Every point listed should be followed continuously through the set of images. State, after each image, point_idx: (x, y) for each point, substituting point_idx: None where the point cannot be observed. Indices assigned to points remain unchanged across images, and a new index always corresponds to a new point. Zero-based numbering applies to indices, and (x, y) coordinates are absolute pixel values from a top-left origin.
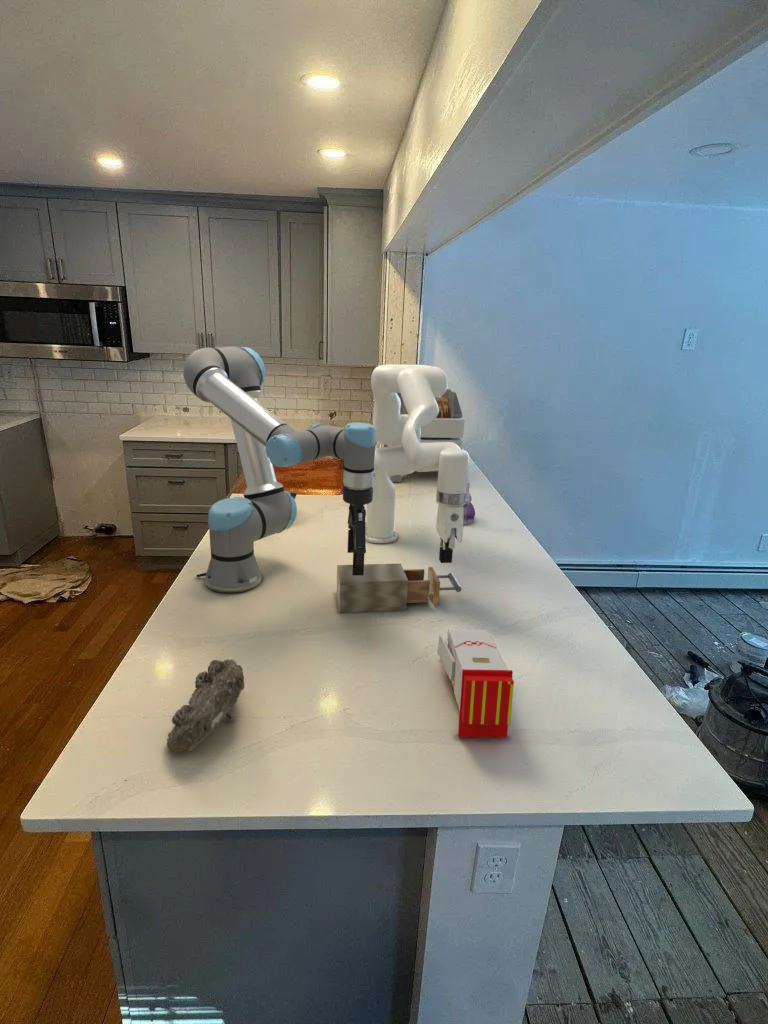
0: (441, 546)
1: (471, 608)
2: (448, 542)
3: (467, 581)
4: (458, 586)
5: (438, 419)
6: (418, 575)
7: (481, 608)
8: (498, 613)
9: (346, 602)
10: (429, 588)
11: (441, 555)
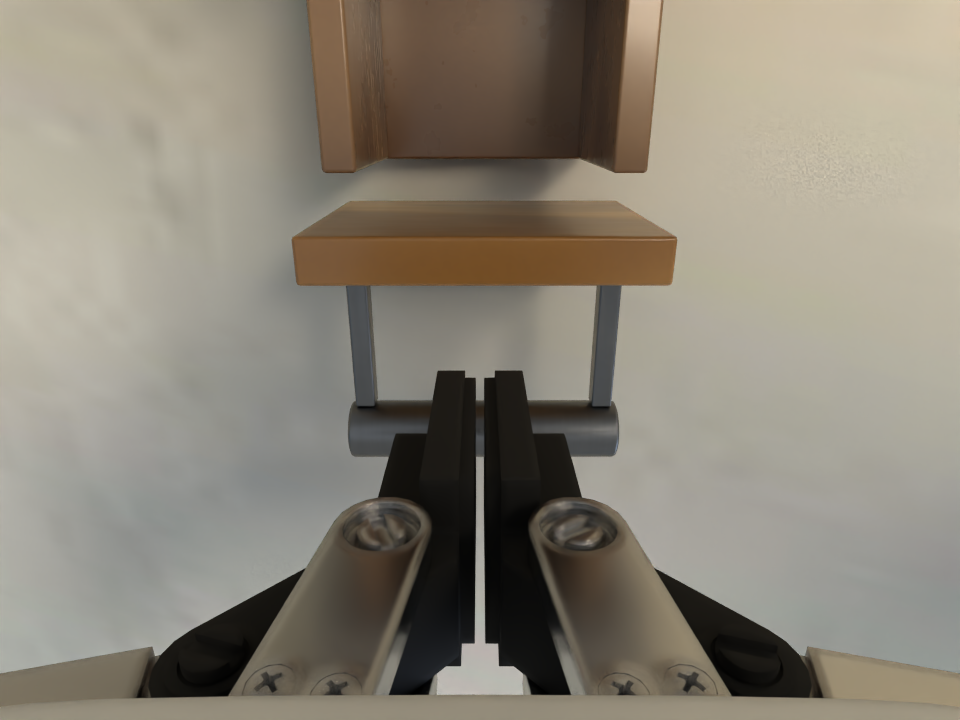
0: (542, 514)
1: (347, 448)
2: (552, 692)
3: (712, 519)
4: (348, 439)
5: None
6: (605, 99)
7: (347, 503)
8: (289, 573)
9: None
10: (529, 207)
11: (428, 427)
